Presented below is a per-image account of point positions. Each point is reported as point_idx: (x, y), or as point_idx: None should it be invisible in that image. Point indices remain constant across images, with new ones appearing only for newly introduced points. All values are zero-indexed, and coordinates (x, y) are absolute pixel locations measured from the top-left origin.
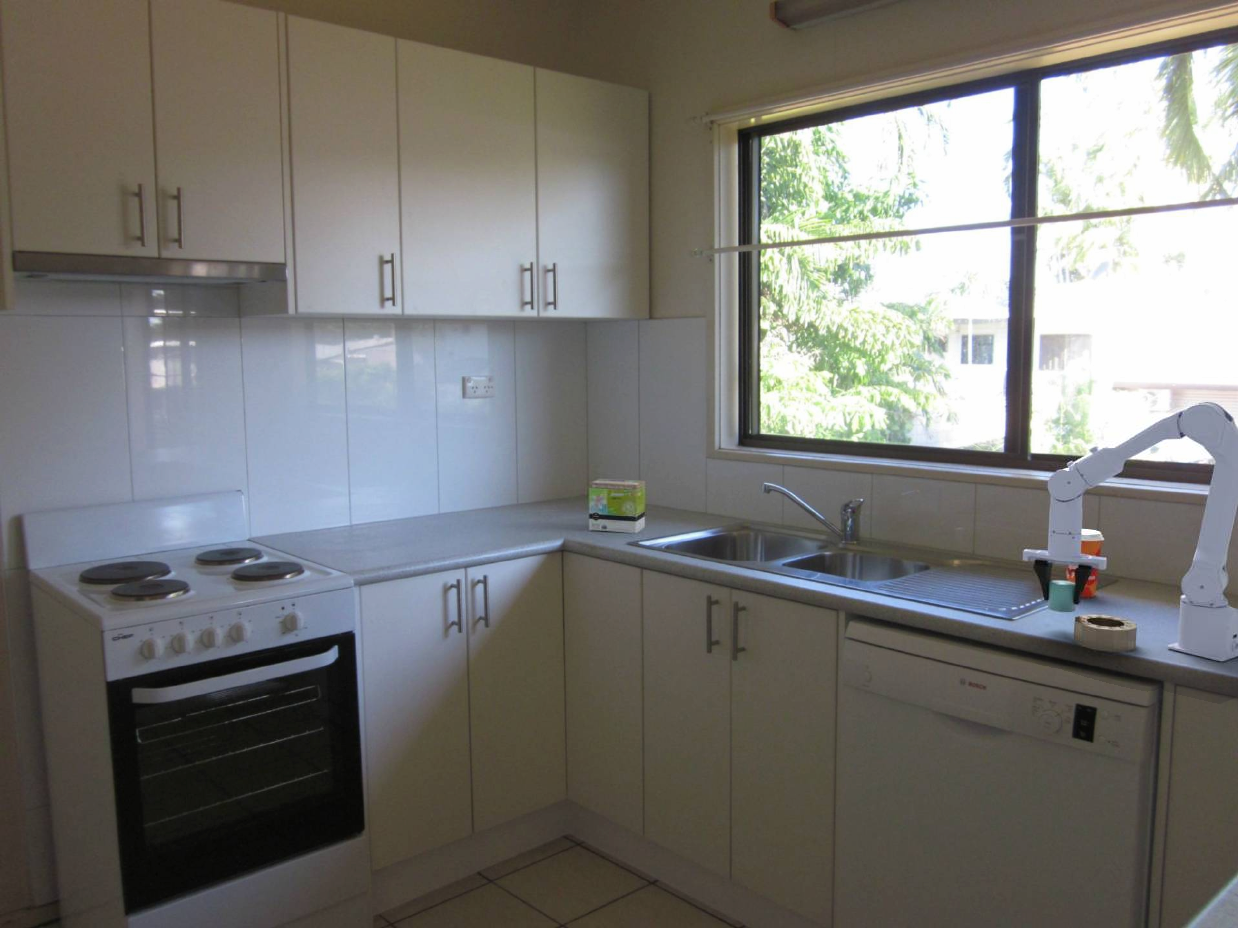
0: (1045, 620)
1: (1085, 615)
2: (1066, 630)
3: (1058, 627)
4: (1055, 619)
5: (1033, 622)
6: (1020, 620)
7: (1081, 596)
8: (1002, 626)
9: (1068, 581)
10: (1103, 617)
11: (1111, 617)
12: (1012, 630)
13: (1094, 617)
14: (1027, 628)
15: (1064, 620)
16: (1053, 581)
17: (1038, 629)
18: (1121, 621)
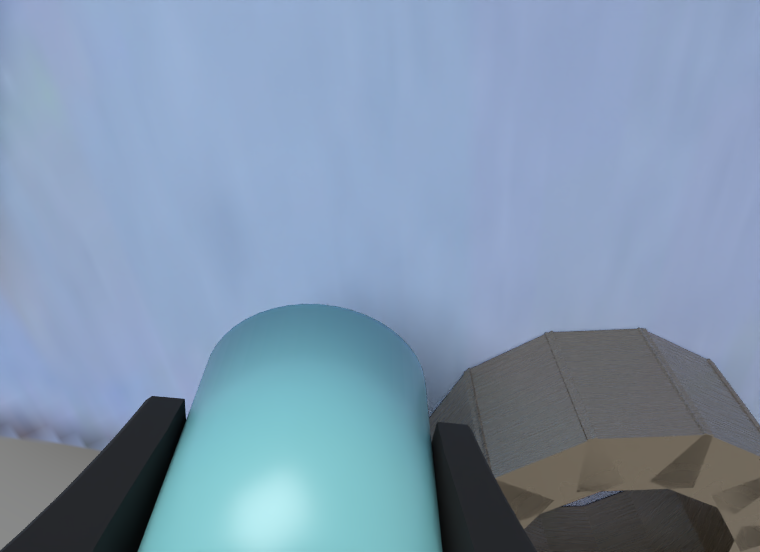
0: (176, 106)
1: (500, 484)
2: (366, 304)
3: (308, 259)
4: (239, 25)
5: (120, 211)
6: (19, 200)
7: (490, 470)
8: (4, 383)
9: (336, 546)
10: (622, 481)
11: (682, 465)
12: (89, 428)
13: (558, 503)
14: (143, 362)
15: (316, 22)
16: None
17: (206, 354)
18: (726, 516)
